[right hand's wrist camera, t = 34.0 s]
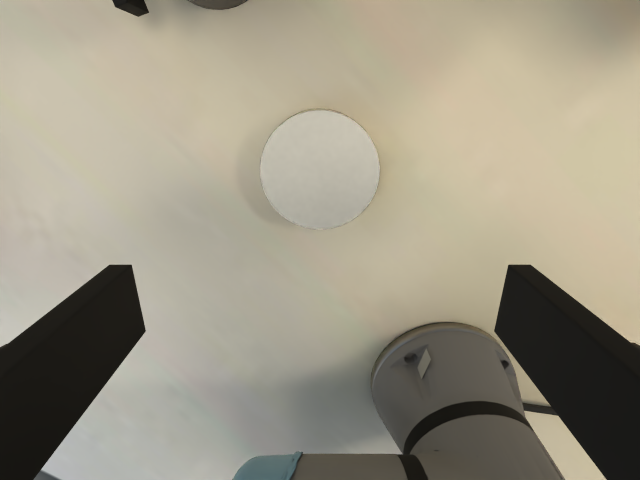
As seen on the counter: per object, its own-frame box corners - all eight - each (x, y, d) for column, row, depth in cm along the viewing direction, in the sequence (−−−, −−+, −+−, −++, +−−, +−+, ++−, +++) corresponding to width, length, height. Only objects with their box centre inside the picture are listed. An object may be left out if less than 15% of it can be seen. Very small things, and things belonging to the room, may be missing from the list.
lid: (265, 104, 29) (260, 104, 27) (383, 113, 29) (388, 115, 27) (262, 216, 33) (258, 225, 31) (368, 224, 33) (371, 233, 31)
